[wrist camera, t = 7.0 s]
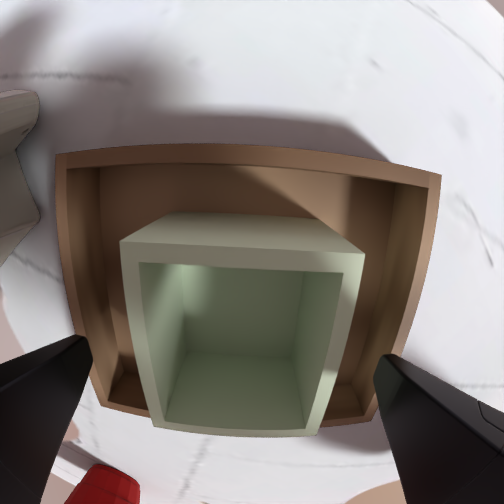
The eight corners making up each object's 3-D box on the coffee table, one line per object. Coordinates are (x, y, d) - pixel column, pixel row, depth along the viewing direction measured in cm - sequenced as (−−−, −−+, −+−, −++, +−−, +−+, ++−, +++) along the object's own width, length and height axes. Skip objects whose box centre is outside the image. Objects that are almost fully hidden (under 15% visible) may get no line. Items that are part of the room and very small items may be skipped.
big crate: (354, 383, 15) (370, 421, 11) (120, 370, 14) (100, 405, 11) (401, 171, 11) (441, 174, 8) (96, 155, 11) (55, 154, 8)
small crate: (298, 358, 13) (316, 435, 8) (179, 352, 13) (153, 426, 8) (318, 218, 11) (365, 254, 6) (172, 211, 11) (119, 241, 6)
